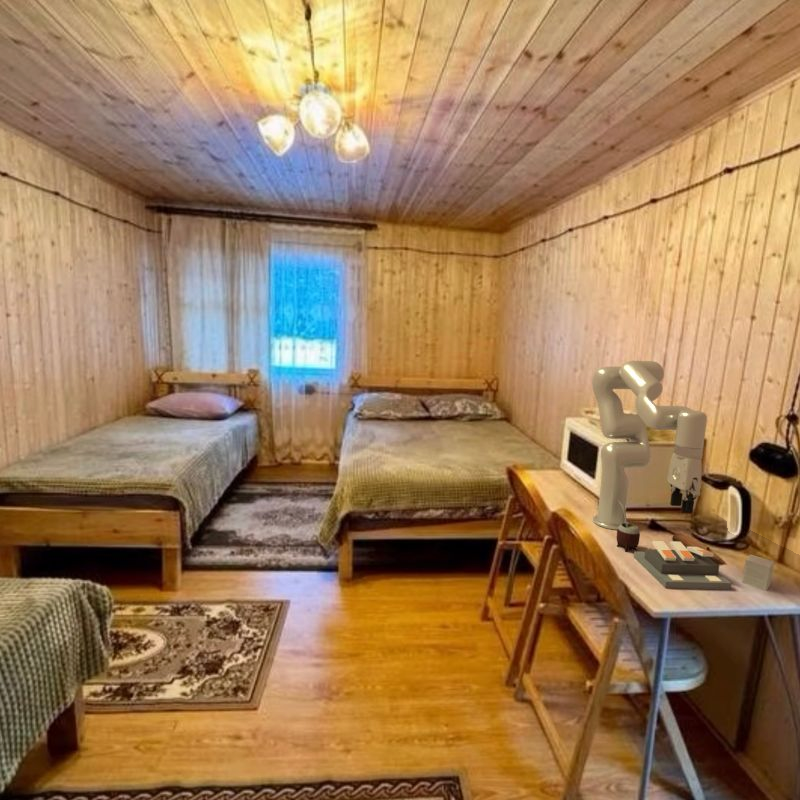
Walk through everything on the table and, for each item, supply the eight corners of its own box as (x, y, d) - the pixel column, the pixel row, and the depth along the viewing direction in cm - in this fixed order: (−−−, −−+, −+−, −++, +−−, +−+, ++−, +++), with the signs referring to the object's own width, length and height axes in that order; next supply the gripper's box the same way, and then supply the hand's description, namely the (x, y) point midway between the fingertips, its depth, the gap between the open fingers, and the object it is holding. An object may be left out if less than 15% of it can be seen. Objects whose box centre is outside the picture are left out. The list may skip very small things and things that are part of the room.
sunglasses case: (730, 565, 158) (722, 547, 157) (710, 575, 158) (702, 558, 157) (694, 540, 176) (687, 525, 175) (676, 550, 176) (669, 534, 175)
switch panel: (633, 557, 162) (635, 542, 161) (691, 558, 162) (693, 544, 161) (665, 588, 143) (667, 571, 142) (730, 589, 143) (732, 573, 142)
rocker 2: (686, 553, 155) (686, 546, 155) (696, 553, 155) (696, 546, 155) (702, 559, 147) (702, 552, 147) (713, 560, 147) (713, 552, 147)
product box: (747, 576, 151) (750, 553, 150) (771, 584, 147) (775, 561, 146) (741, 582, 147) (745, 559, 146) (766, 591, 143) (770, 567, 142)
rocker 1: (651, 546, 155) (652, 540, 155) (661, 546, 155) (663, 540, 155) (664, 563, 148) (665, 557, 147) (674, 563, 148) (676, 557, 147)
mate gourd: (637, 555, 163) (642, 511, 161) (611, 549, 167) (615, 506, 165) (639, 546, 170) (643, 504, 168) (614, 541, 174) (618, 500, 171)
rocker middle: (668, 546, 155) (670, 541, 155) (679, 546, 156) (680, 541, 155) (682, 563, 148) (684, 557, 147) (693, 563, 148) (694, 557, 147)
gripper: (660, 444, 158) (654, 499, 161) (692, 458, 141) (684, 519, 144) (684, 444, 158) (677, 499, 161) (718, 459, 141) (710, 520, 144)
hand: (681, 508), depth 152 cm, fingers open, 5 cm apart
